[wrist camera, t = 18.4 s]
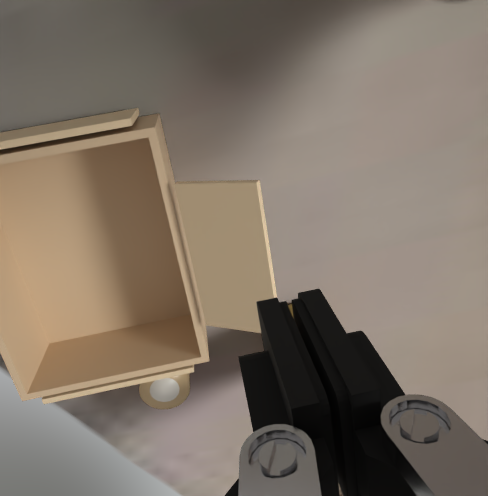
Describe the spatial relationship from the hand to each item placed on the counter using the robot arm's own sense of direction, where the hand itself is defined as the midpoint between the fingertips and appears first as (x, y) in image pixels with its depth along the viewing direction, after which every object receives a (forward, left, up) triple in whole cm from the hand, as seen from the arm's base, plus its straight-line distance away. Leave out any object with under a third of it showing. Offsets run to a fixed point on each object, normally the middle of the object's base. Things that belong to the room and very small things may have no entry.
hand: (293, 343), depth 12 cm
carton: (+7, -12, -31) cm, 34 cm away
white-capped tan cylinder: (+22, -9, -31) cm, 39 cm away
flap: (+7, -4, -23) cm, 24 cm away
